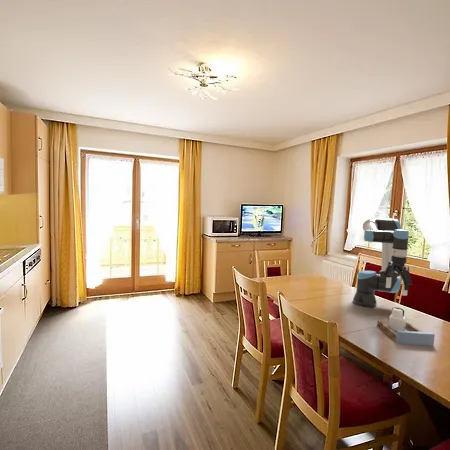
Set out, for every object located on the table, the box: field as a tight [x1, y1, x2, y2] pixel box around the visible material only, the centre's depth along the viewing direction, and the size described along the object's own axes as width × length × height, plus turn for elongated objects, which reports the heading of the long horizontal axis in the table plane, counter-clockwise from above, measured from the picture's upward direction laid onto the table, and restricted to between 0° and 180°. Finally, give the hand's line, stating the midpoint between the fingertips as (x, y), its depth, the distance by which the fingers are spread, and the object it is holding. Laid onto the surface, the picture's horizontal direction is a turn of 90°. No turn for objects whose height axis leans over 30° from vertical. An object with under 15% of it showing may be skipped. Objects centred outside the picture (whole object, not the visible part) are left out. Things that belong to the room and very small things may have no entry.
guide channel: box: [377, 319, 423, 342], centre depth 154 cm, size 20×17×3 cm
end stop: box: [395, 330, 436, 347], centre depth 143 cm, size 2×17×6 cm, turn 87°
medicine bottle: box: [387, 306, 407, 332], centre depth 160 cm, size 7×7×12 cm
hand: (395, 291), depth 167 cm, fingers open, 13 cm apart
